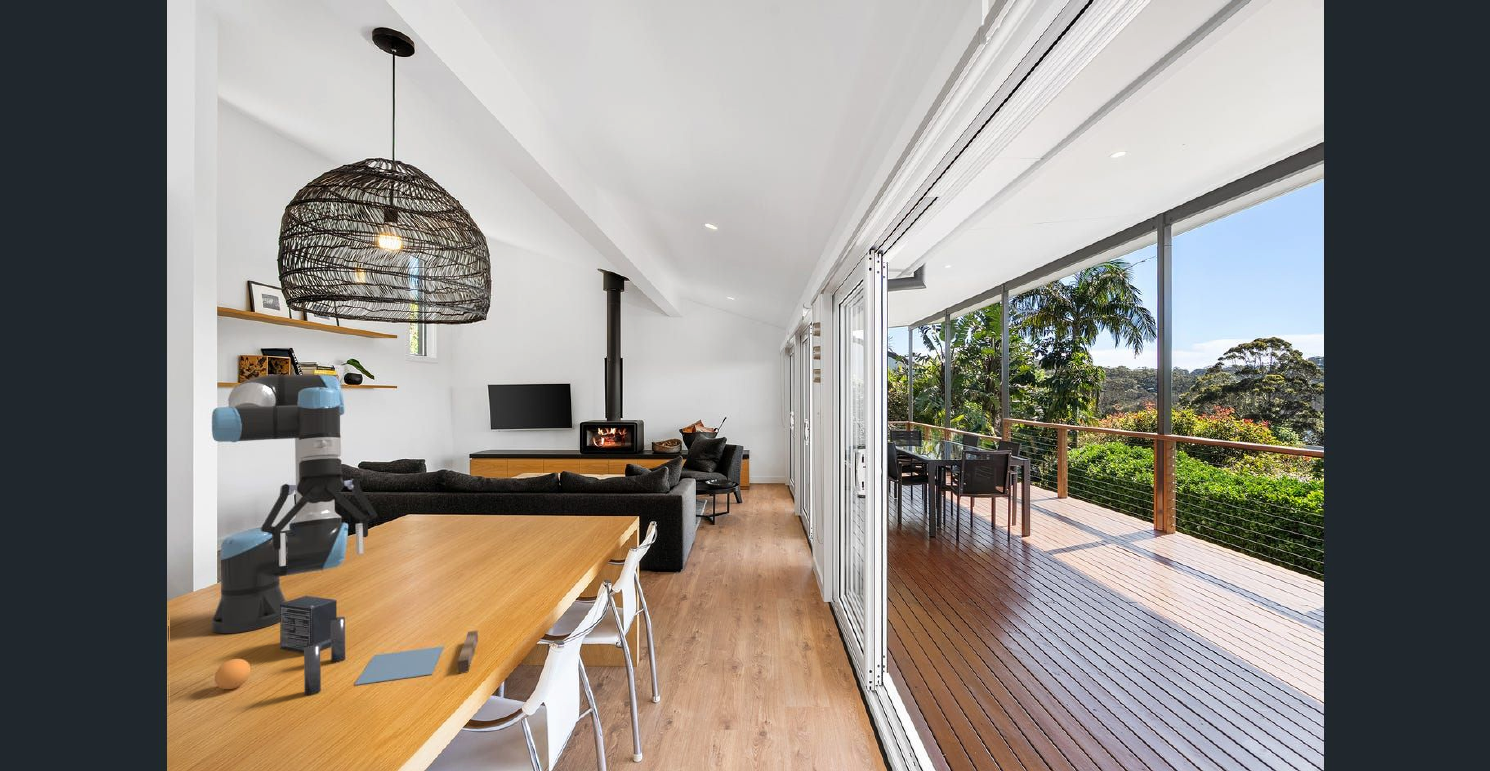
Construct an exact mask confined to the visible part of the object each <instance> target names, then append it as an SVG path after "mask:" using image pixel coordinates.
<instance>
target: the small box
mask: <svg viewBox="0 0 1490 771" xmlns="http://www.w3.org/2000/svg"><path fill="white" fill-rule="evenodd" d="M280 617H281V618H280V622H279V623H280V628H279V629H280V631H279V632H280V633H279V634H280V635H279V637H280V639H279V649H280V650H284V651H291V652H296V653H302V654H304V647H305V646H307V645H310V644H314V643H319V644H320V651H323V650H325V649H328V648H331V619H333V618H336V617H338V616H337V599H332V598H325V597H319V596H318V597H316V596H312V595H311V596H310V595H305V596H302V597H298V598H295V599H291V600H290V599H289V600H288V601H287V600H286V602H283V603H280Z"/></svg>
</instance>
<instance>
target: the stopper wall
mask: <svg viewBox="0 0 1490 771" xmlns="http://www.w3.org/2000/svg"><path fill="white" fill-rule="evenodd" d="M478 633H479V632H478V630H472V631H471V630H470V631H467V634H466V637H465V640H464V642H463V646H462V648H461V651H460V654H459V657H458V659H457V674H462V673H461V672H463V673H467V672H466V671H468V672H469V671H470V667H471V665H472V662H471V661H473V658H474V655H475V651H476V649H477V645H478V642H479V641H478V640H479V639H478V638H479V637H478V636H479V634H478ZM475 648H476V649H475ZM470 664H471V665H470Z"/></svg>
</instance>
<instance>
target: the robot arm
mask: <svg viewBox="0 0 1490 771" xmlns="http://www.w3.org/2000/svg"><path fill="white" fill-rule="evenodd" d="M227 401H228V402H227V404H228V405H227V406H225V407H216V408H214V409H213V410H212V413H211V434H212V438H213V440H214V441H216V442H218V443H223V442H224V443H225V442H227V443H228V442H229V443H230V442H231V443H236V442H248V441H265V440H266V441H267V440H288V439H289V440H290V439H294V450H295V454H294V455H295V456H294V457H295V458H294V459H295V460H294V461H295V484H289V483H285V484H282V485H281V486H280V490H279V496H278V497H277V500H276V501H275V503H274V505H273V506H272V508H271V510H270V511H269V513H268V515H267V517H266V518H265V520H264V522H263V524H262V526H261V527H255V528H251V529H247V530H243V531H240V532H236V533H233V534H232V535H230V536H227V537H225V539H224V540H223V541H222V542H221V544H220V556H219V560H220V599H219V602H218V605H217V607H216V609H215V612H214V616H213V617H212V620H211V627H212V628H211V630H212V632H214V633H217V634H236V633H237V634H238V633H245V632H249V631H254V630H259V629H262V628H265V627H270V626H271V625H275V624H277V623H280V618H281V617H280V603H283V602H287V600H286V598H285V596H284V594H283V591H282V589H281V586H280V582H281V580H280V577H286V576H292V575H298V574H305V573H311V572H318V571H325V570H327V569H333V568H338V567H340V566H341V565H342V564H343V563H344V560H345V557H346V552H347V544H348V534H349V531H348V530H349V524H348V523H346V522H343V521H342V516H341V515H340V514H338V513H337V512H336V509H335V508H336V507H335V505H336V504H335V502H336V503H338V504H339V505H341V507H342V508H344V510H346V511H347V512H349V513H350V514H351V515H352V516H353V517H354V518H355V519H356V520H357V521H358V522H359V523H355V542H356V543H355V546H356V547H355V549H356V551H355V552H356V555H361V554H364V538H367V537H368V536H369V522H370V521H372V520H373V519H377V518H378V513H377V512H376V510H375V509H374V507H373V505H372V504H371V502H370V501H369V499H368V498H367V496H366V495H365V493H364V492H363V490H362V488H361V484H360V480H359V478H356V477H355V478H353V479H350V480H349V479H348V480H344V479H343V474H342V472H343V471H342V470H343V468H342V459H341V458H339V457H341V456H342V443H341V442H342V441H341V439H342V438H341V416H342V415H344V414H345V404H344V402H345V401H344V396H343V391H342V386H341V383H340V380H339V378H338V377H337V376H335V375H331V374H327V375H326V374H320V373H317V374H268V375H261V376H257V377H254V378H250V379H248V380H245V381H243V382H241V383H238V385H236V386H235V387H234V388H232V390H231V391H230V393H229V396H228V398H227ZM345 487H347V489H348V490H351V491H352V493H353V495H354V496H355V499H356V500H357V501H358V503H359V504H360V506H361V507H362V509H363V511H364V512H365V514H366V515H365V514H364V513H363V512H362V511H361V510H360V509H358V508H357V507H356V506H355V505H354V504H353V503H352V502H351V501H349V500H348V499H347V498H346V497H345V495H343V494H342V493H341V491H342V490H343V489H344V488H345ZM294 491H295V505H293V506H292V507H291V509H290V510H289V511H287V513H286V514H285V515H284V516H283V517H282V518H281V519H280V521H278V523H277V524H276V525H273V524H274V522H275V520H276V519H277V517H278V515H279V513H280V511H281V510H282V508H283V507H284V505H285V503H286V501H287V499H288V497H289V496H290V495H293V492H294ZM287 525H289V529H288V530H287V529H286V530H284V529H285V527H286V526H287Z"/></svg>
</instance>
